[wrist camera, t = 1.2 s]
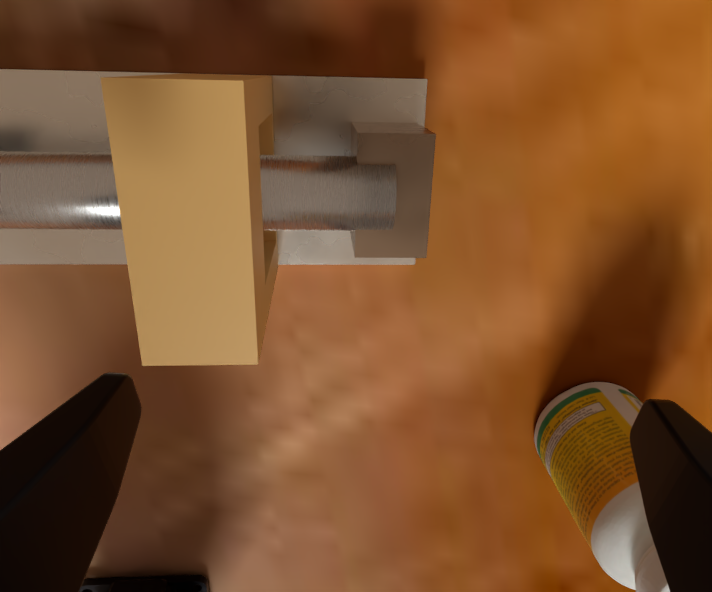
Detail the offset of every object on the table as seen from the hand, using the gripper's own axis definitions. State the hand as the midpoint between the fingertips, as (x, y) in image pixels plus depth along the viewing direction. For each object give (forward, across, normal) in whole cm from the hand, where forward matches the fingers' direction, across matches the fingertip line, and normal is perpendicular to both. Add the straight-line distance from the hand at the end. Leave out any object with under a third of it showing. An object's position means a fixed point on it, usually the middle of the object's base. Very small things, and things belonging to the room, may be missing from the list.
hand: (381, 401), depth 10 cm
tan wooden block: (+13, +6, +2) cm, 14 cm away
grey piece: (+12, +11, +1) cm, 16 cm away
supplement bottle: (+12, -10, +14) cm, 21 cm away
